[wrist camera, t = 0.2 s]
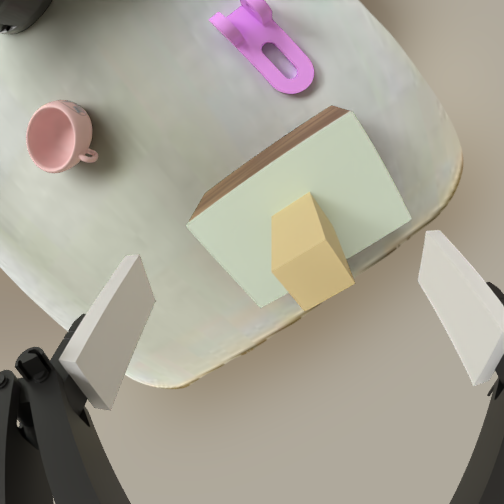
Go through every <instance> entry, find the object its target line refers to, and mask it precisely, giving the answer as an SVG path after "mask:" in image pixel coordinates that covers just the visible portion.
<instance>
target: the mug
mask: <svg viewBox="0 0 504 504" xmlns="http://www.w3.org/2000/svg"><path fill="white" fill-rule="evenodd" d="M91 140H92V123H91V120H90V117H89V116H88V114H87V112H86V111H85V110H84V109H83V108H82V107H80V106H79V105H77V104H76V103H74V102H71V101H68V100H57V101H53V102H49V103H47V104H45V105H43V106H41V107H40V108H39V109H38V110H37V111H36V112H35V113H34V115H33V116H32V118H31V120H30V122H29V124H28V128H27V134H26V143H27V148H28V152H29V154H30V157H31V158H32V160H33V162H34V163H35V164H36V165H37V166H38V167H39V168H40V169H42V170H44V171H46V172H49V173H60V172H63V171H66V170H68V169H70V168H72V167H73V166H75V165H76V164H78V163H79V162H80V160H82V161H84V162H88V163H92V162H95V161H96V160H97V159H98V154H97V152H96V151H94V150H92V149H89V146H90V143H91ZM85 154H90V155H92V156H93V157H87V156H85Z"/></svg>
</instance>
